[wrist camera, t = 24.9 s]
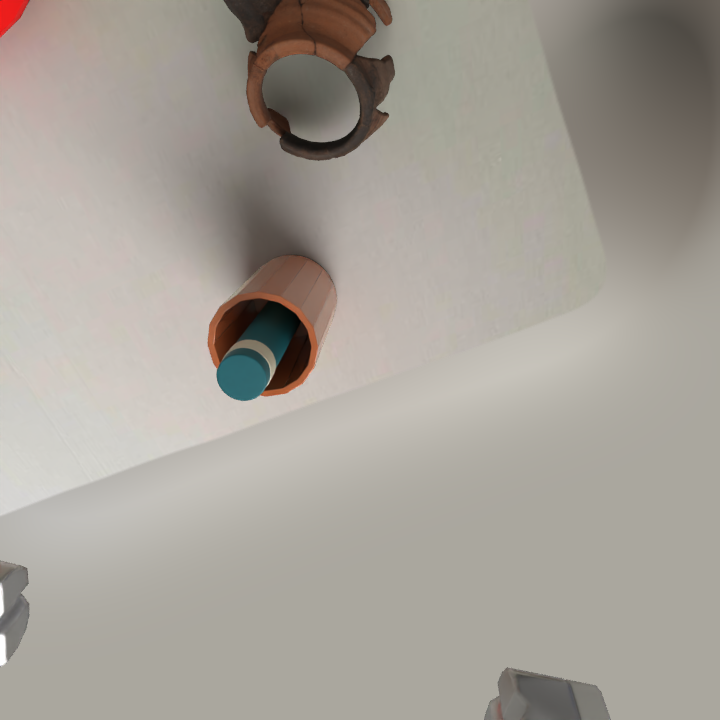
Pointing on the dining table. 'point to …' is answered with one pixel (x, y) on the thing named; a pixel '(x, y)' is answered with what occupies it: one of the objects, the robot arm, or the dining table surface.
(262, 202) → the dining table surface
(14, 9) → the red disc with nozzle
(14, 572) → the robot arm
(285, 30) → the broken brown pottery vessel
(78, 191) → the dining table surface
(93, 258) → the dining table surface
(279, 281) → the tumbler
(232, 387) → the teal banded tube
